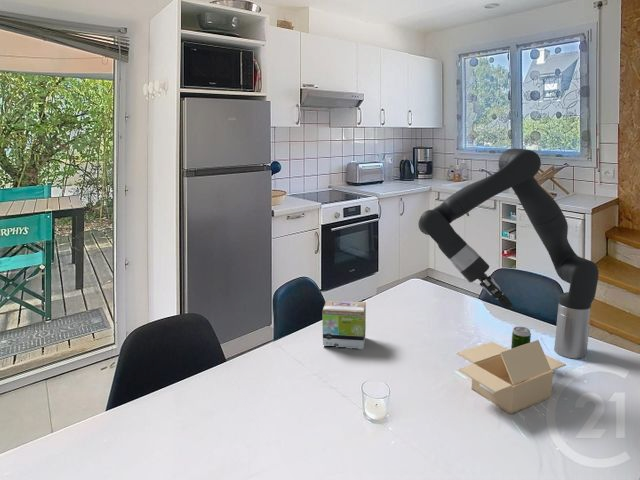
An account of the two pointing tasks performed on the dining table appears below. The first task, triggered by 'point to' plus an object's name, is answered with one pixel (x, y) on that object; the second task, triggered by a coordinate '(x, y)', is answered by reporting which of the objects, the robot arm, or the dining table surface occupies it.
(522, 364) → the flap
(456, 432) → the dining table surface
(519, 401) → the carton
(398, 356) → the dining table surface
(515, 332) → the beer can
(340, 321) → the tea box
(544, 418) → the dining table surface
